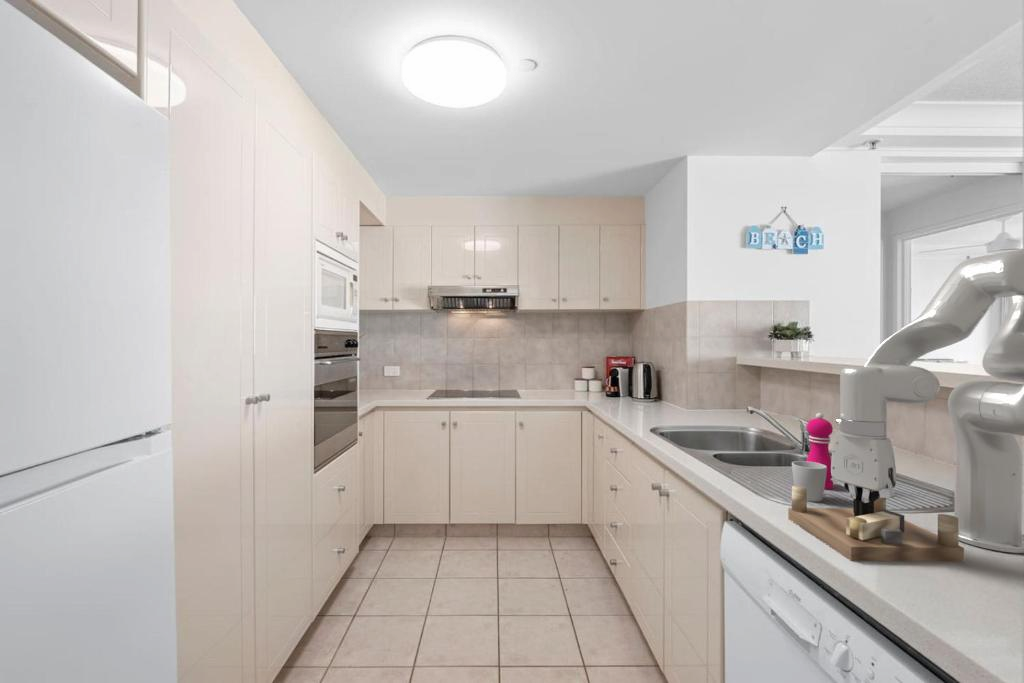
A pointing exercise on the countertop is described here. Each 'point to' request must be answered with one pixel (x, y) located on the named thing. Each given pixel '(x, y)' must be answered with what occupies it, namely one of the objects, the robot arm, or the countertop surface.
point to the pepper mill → (820, 445)
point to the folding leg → (873, 524)
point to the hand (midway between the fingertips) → (863, 519)
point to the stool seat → (884, 548)
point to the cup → (810, 478)
